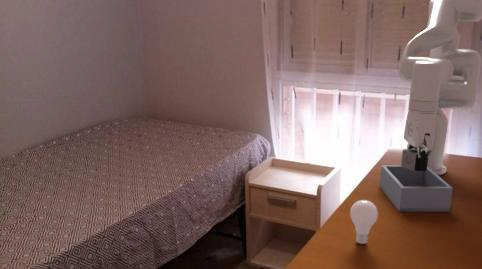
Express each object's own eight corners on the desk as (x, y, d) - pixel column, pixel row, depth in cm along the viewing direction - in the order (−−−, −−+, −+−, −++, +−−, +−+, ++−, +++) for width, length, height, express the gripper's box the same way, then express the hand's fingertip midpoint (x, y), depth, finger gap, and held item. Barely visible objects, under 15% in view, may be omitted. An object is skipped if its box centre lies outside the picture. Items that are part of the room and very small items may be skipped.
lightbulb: (375, 239, 111) (379, 197, 108) (374, 252, 105) (378, 208, 102) (349, 234, 113) (352, 194, 110) (346, 247, 107) (349, 204, 104)
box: (379, 186, 143) (381, 165, 141) (423, 186, 143) (426, 165, 141) (399, 211, 126) (401, 188, 124) (449, 211, 126) (452, 188, 124)
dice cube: (401, 166, 133) (402, 149, 132) (414, 163, 135) (415, 147, 134) (414, 171, 129) (415, 154, 127) (427, 169, 131) (429, 152, 129)
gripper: (398, 99, 135) (393, 156, 140) (421, 112, 118) (414, 177, 123) (424, 99, 135) (417, 156, 140) (450, 112, 118) (441, 177, 123)
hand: (415, 165), depth 132 cm, fingers closed on dice cube, 5 cm apart
